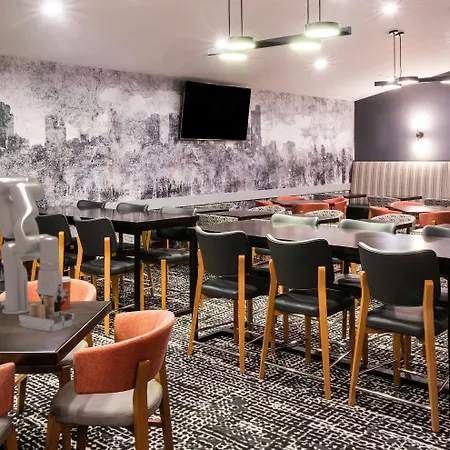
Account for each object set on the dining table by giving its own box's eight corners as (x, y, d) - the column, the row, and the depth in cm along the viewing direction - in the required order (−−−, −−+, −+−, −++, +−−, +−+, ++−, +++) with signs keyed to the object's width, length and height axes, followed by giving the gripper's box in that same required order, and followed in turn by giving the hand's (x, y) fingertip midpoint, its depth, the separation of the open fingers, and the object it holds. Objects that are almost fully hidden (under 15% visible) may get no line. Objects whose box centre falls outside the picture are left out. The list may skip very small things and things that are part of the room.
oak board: (30, 326, 241) (29, 304, 241) (35, 324, 244) (34, 303, 243) (41, 328, 239) (40, 306, 238) (45, 326, 241) (45, 304, 240)
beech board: (44, 317, 245) (43, 295, 244) (48, 315, 247) (47, 294, 246) (54, 318, 242) (54, 297, 241) (59, 317, 244) (58, 295, 243)
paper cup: (67, 310, 267) (66, 279, 266) (51, 309, 268) (50, 279, 267) (75, 306, 275) (74, 276, 273) (59, 305, 276) (58, 275, 275)
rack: (19, 326, 241) (18, 315, 241) (42, 319, 252) (41, 308, 252) (52, 332, 233) (51, 320, 232) (74, 324, 244) (74, 313, 243)
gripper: (27, 266, 243) (29, 310, 245) (58, 270, 235) (60, 315, 237) (41, 263, 250) (42, 306, 252) (72, 267, 242) (73, 310, 244)
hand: (51, 310), depth 244 cm, fingers closed on beech board, 6 cm apart
